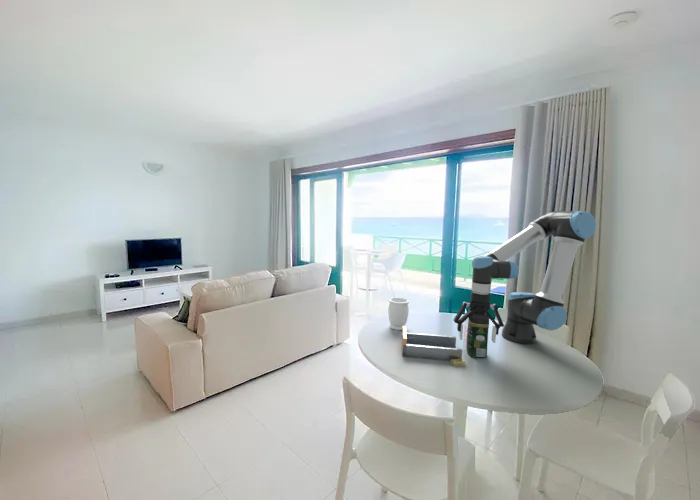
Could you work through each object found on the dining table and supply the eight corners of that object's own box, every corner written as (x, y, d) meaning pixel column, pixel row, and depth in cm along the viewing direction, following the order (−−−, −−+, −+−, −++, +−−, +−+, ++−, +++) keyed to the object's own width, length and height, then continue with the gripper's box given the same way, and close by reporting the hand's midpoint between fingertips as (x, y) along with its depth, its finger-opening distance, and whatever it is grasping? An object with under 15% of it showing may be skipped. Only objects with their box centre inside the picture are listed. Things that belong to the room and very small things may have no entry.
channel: (454, 346, 141) (455, 330, 140) (461, 361, 126) (462, 343, 125) (401, 342, 145) (402, 325, 144) (402, 356, 130) (403, 338, 129)
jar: (410, 326, 166) (411, 299, 164) (403, 332, 157) (404, 304, 155) (392, 322, 171) (393, 296, 170) (384, 328, 162) (385, 300, 161)
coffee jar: (464, 348, 140) (467, 308, 138) (483, 350, 138) (486, 310, 136) (468, 357, 130) (471, 315, 128) (488, 359, 129) (492, 316, 127)
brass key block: (460, 362, 126) (461, 358, 126) (464, 365, 124) (465, 361, 124) (450, 364, 125) (450, 359, 124) (454, 367, 122) (454, 362, 122)
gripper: (508, 292, 133) (504, 339, 136) (449, 288, 137) (445, 334, 139) (515, 296, 126) (510, 346, 128) (452, 292, 130) (448, 340, 132)
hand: (476, 340), depth 134 cm, fingers open, 13 cm apart
